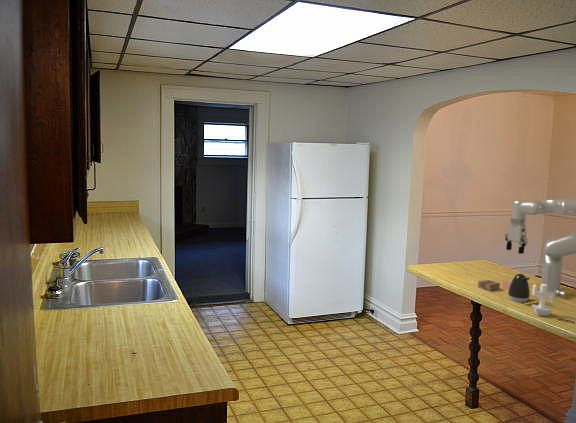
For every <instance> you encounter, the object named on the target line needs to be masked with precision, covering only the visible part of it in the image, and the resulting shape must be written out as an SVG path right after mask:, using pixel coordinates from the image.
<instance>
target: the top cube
mask: <svg viewBox="0 0 576 423" xmlns="http://www.w3.org/2000/svg"><path fill="white" fill-rule="evenodd" d="M512 280H513V279H509V278H508V279H503V280H502V285H501V286H502V289H503V290H505V291H509V287H510V284H511V282H512Z"/></svg>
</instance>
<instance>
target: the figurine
mask: <svg viewBox="0 0 576 423" xmlns="http://www.w3.org/2000/svg"><path fill="white" fill-rule="evenodd" d="M537 287H538V286H537V285H536V284H533V285H532V296H533V297H538V298H539V301H538V304H533V303H532V304H531V306H532V308H533V311H534V313H535V315H536V316H537V317H539V316H540V317H548V316H549V315H550V314H551V312H552V311H553V310H552V308H551V307H549V305H546V298H549V300H548V303H550V304H553V303H554V298H555V296H554V294H553V292H546V289H547V285H545V284H541V283H540V287H539V290H540V291H537V290H538V289H537Z"/></svg>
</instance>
